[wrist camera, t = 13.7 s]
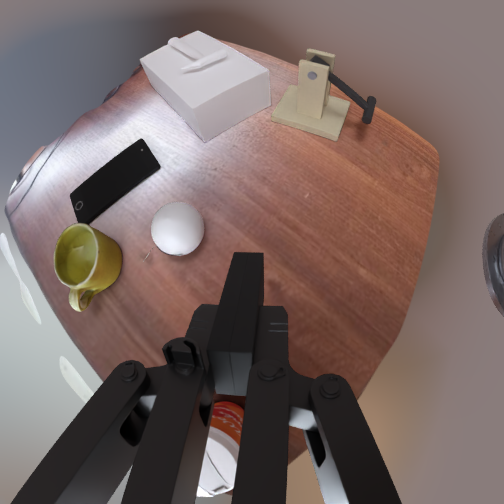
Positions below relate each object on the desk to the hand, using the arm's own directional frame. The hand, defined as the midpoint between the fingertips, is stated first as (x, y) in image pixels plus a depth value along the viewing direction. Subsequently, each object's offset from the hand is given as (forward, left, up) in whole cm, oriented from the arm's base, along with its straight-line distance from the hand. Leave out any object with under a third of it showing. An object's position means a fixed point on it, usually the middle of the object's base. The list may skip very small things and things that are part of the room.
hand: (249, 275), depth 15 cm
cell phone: (+34, -9, -22) cm, 41 cm away
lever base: (+6, -35, -22) cm, 42 cm away
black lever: (+2, -35, -15) cm, 38 cm away
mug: (+26, +6, -23) cm, 35 cm away
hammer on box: (+28, -34, -23) cm, 49 cm away
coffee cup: (-1, +16, -23) cm, 28 cm away
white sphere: (+16, -4, -23) cm, 28 cm away
